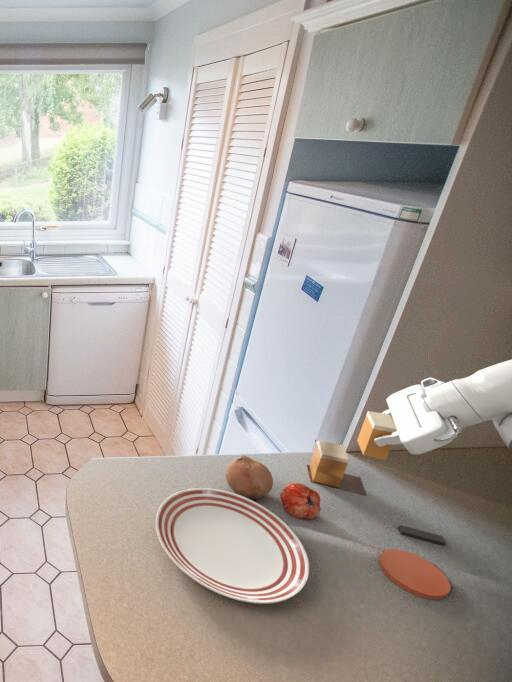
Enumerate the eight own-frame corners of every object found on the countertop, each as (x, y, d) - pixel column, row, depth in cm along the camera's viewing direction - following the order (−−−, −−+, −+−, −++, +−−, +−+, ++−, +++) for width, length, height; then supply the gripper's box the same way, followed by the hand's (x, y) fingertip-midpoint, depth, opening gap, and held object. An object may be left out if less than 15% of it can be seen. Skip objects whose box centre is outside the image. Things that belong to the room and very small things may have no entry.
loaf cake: (358, 479, 109) (370, 449, 105) (366, 498, 103) (378, 467, 100) (305, 467, 113) (315, 438, 110) (309, 484, 107) (319, 454, 104)
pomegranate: (269, 510, 103) (288, 515, 94) (274, 477, 105) (293, 480, 95) (305, 520, 101) (328, 526, 92) (310, 487, 103) (332, 490, 93)
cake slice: (378, 444, 102) (390, 414, 99) (385, 460, 97) (398, 429, 94) (356, 440, 104) (367, 410, 101) (363, 455, 99) (374, 424, 96)
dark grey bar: (438, 540, 92) (442, 535, 92) (443, 549, 90) (446, 543, 90) (320, 509, 100) (322, 504, 100) (322, 517, 98) (324, 511, 98)
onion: (227, 493, 109) (220, 452, 110) (271, 491, 106) (264, 449, 106) (232, 507, 100) (225, 462, 101) (280, 506, 97) (272, 460, 97)
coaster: (436, 563, 87) (438, 560, 87) (457, 608, 79) (460, 604, 78) (372, 546, 91) (374, 542, 91) (387, 586, 83) (388, 582, 82)
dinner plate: (316, 639, 74) (321, 625, 73) (144, 577, 85) (146, 565, 83) (295, 522, 97) (299, 510, 96) (162, 485, 108) (164, 474, 106)
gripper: (476, 447, 82) (390, 472, 91) (446, 396, 98) (376, 422, 107) (453, 419, 83) (370, 447, 91) (427, 373, 99) (358, 401, 107)
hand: (373, 433), depth 99 cm, fingers closed on cake slice, 6 cm apart
